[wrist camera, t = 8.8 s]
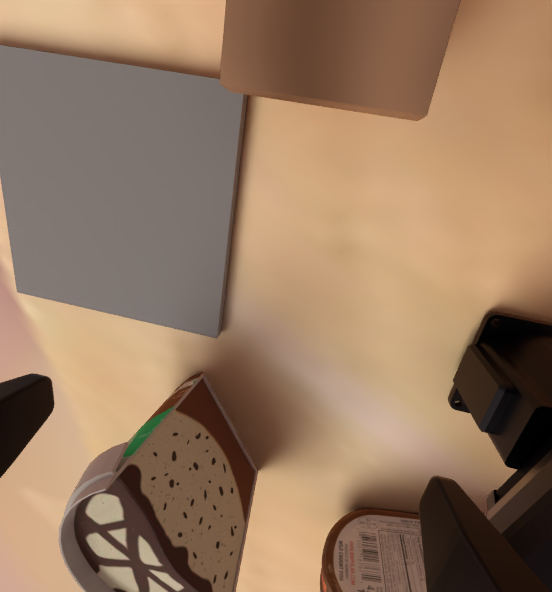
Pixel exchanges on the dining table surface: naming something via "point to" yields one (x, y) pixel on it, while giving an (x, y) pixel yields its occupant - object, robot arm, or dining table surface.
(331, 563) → the tin
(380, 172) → the dining table surface
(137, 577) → the food container
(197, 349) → the dining table surface
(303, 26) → the lid
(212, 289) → the mat
